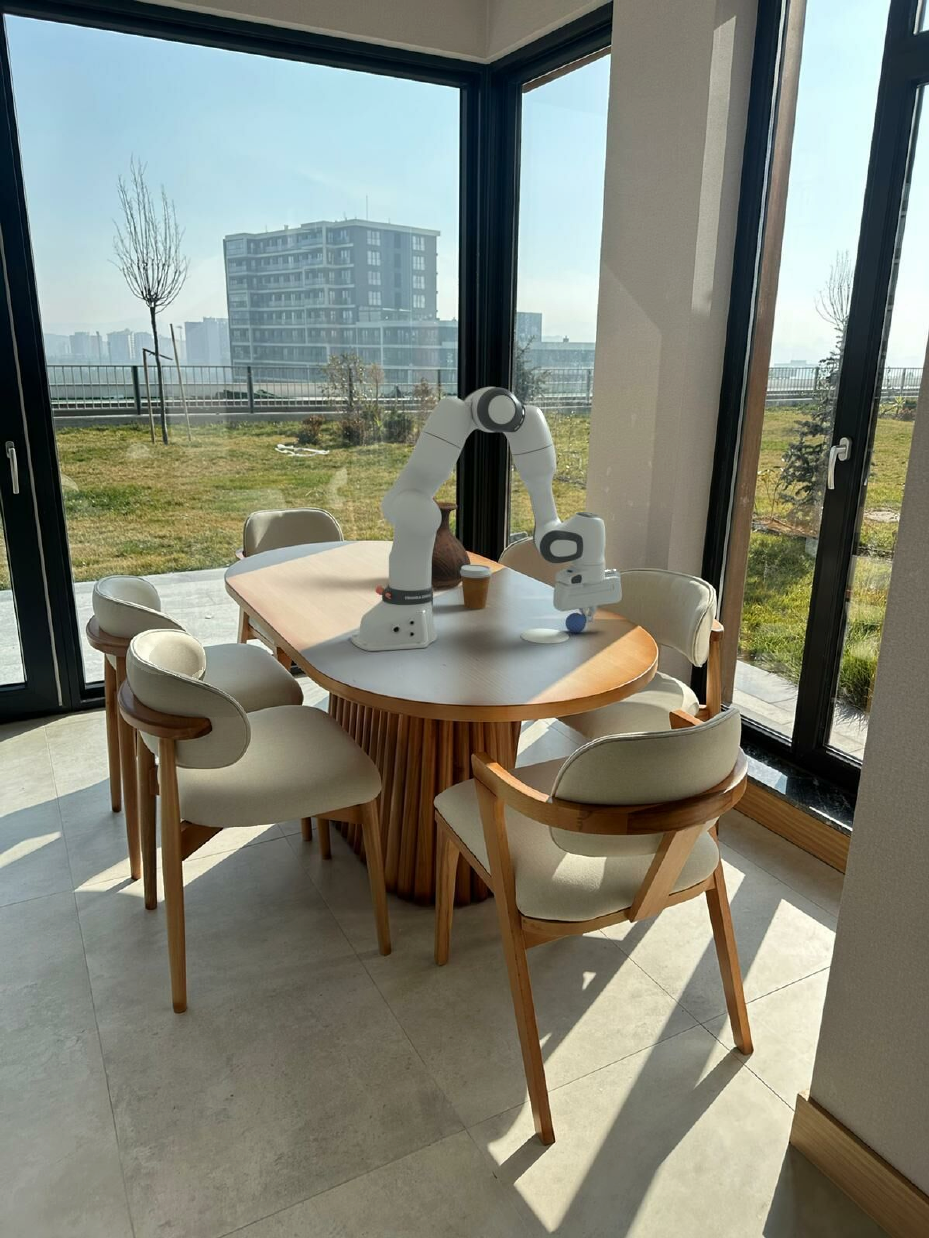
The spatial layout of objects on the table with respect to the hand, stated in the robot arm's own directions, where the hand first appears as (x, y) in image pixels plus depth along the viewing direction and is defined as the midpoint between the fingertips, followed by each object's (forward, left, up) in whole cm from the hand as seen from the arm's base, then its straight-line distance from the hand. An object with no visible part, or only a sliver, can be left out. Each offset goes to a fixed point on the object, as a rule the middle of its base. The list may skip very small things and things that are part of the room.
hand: (587, 621), depth 238 cm
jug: (-16, +64, -3) cm, 66 cm away
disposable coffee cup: (-17, +34, -3) cm, 38 cm away
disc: (-13, 0, -3) cm, 14 cm away
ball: (-4, 0, 0) cm, 4 cm away
